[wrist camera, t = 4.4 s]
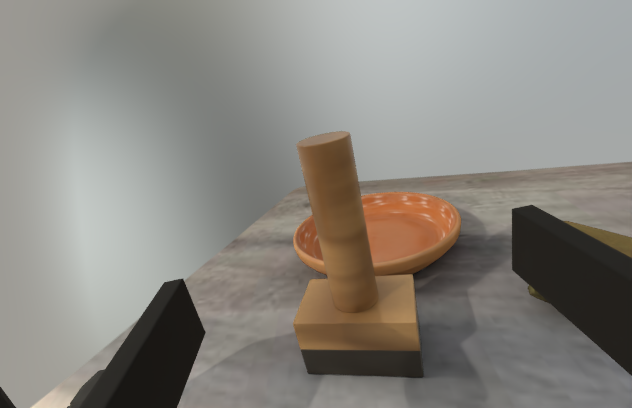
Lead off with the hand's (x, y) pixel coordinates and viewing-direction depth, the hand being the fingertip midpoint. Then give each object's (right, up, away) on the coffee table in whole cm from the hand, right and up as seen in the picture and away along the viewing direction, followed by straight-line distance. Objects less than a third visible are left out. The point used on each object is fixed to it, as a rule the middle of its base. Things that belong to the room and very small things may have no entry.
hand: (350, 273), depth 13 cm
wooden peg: (+2, -7, +9) cm, 11 cm away
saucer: (+5, -2, +20) cm, 21 cm away
